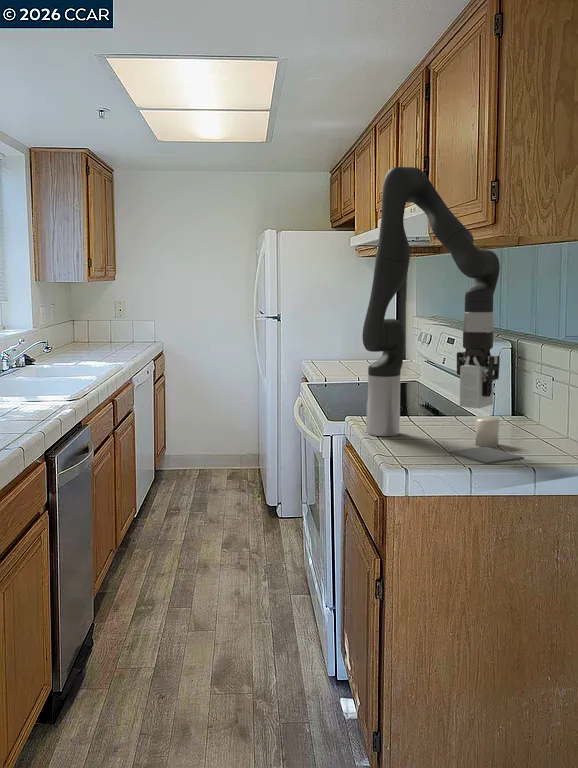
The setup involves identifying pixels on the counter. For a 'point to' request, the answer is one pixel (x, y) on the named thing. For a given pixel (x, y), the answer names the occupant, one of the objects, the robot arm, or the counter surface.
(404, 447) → the counter surface
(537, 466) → the counter surface
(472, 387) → the small box
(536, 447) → the counter surface
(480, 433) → the beige rounded block
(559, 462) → the counter surface
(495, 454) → the mat
